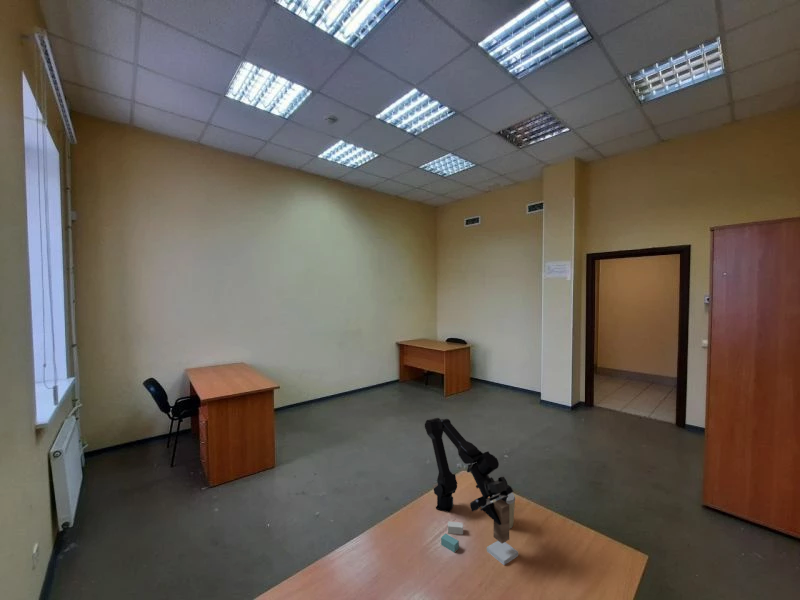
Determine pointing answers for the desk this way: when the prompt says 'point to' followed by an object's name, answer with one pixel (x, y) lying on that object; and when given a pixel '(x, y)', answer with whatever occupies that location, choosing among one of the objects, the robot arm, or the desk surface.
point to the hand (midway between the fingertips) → (504, 522)
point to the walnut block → (503, 513)
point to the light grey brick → (455, 528)
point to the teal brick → (449, 542)
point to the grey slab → (502, 552)
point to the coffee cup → (510, 508)
